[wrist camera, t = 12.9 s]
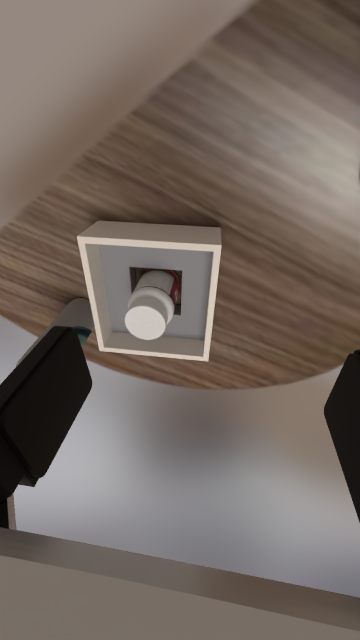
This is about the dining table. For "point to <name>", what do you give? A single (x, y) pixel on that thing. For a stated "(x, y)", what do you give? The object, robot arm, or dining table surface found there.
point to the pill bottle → (152, 303)
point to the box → (159, 253)
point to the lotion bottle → (72, 321)
